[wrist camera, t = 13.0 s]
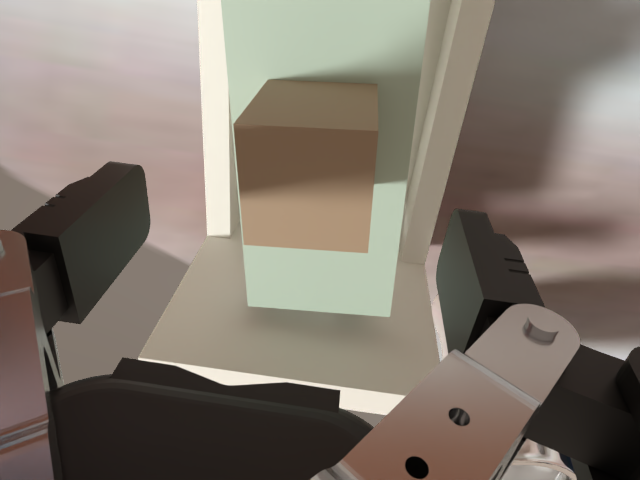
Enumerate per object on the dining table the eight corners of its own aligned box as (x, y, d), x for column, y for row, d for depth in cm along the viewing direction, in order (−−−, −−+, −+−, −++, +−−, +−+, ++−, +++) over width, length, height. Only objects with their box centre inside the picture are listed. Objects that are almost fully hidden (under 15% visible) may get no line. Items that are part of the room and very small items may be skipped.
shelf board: (224, -160, 15) (129, -225, 9) (443, -159, 15) (490, -228, 9) (256, 281, 25) (220, 386, 19) (388, 291, 24) (393, 402, 18)
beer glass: (465, 258, 34) (517, 441, 22) (535, 301, 36) (623, 496, 23) (406, 315, 38) (423, 502, 25) (473, 353, 39) (520, 546, 27)
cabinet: (522, -194, 21) (742, -394, 9) (414, 245, 34) (438, 422, 22) (218, -225, 22) (0, -460, 9) (226, 220, 35) (141, 379, 22)
